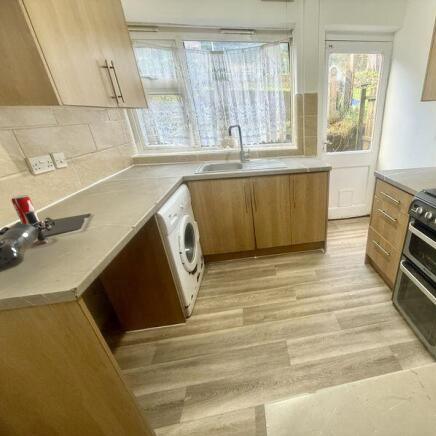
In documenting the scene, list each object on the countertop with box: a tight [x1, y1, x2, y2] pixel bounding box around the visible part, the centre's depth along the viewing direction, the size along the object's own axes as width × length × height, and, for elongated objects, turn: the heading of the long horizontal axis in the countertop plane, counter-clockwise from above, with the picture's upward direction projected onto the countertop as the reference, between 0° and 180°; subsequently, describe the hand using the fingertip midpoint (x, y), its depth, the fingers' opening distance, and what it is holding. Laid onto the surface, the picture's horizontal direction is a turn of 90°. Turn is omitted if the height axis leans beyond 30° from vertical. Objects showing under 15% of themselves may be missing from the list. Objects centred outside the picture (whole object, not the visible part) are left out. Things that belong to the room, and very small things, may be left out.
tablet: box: [43, 213, 92, 238], centre depth 115 cm, size 15×22×1 cm
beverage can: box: [11, 194, 40, 224], centre depth 112 cm, size 6×6×15 cm
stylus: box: [25, 211, 48, 243], centre depth 97 cm, size 2×2×13 cm
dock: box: [31, 237, 49, 247], centre depth 100 cm, size 7×7×1 cm
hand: (34, 221), depth 97 cm, fingers open, 8 cm apart
